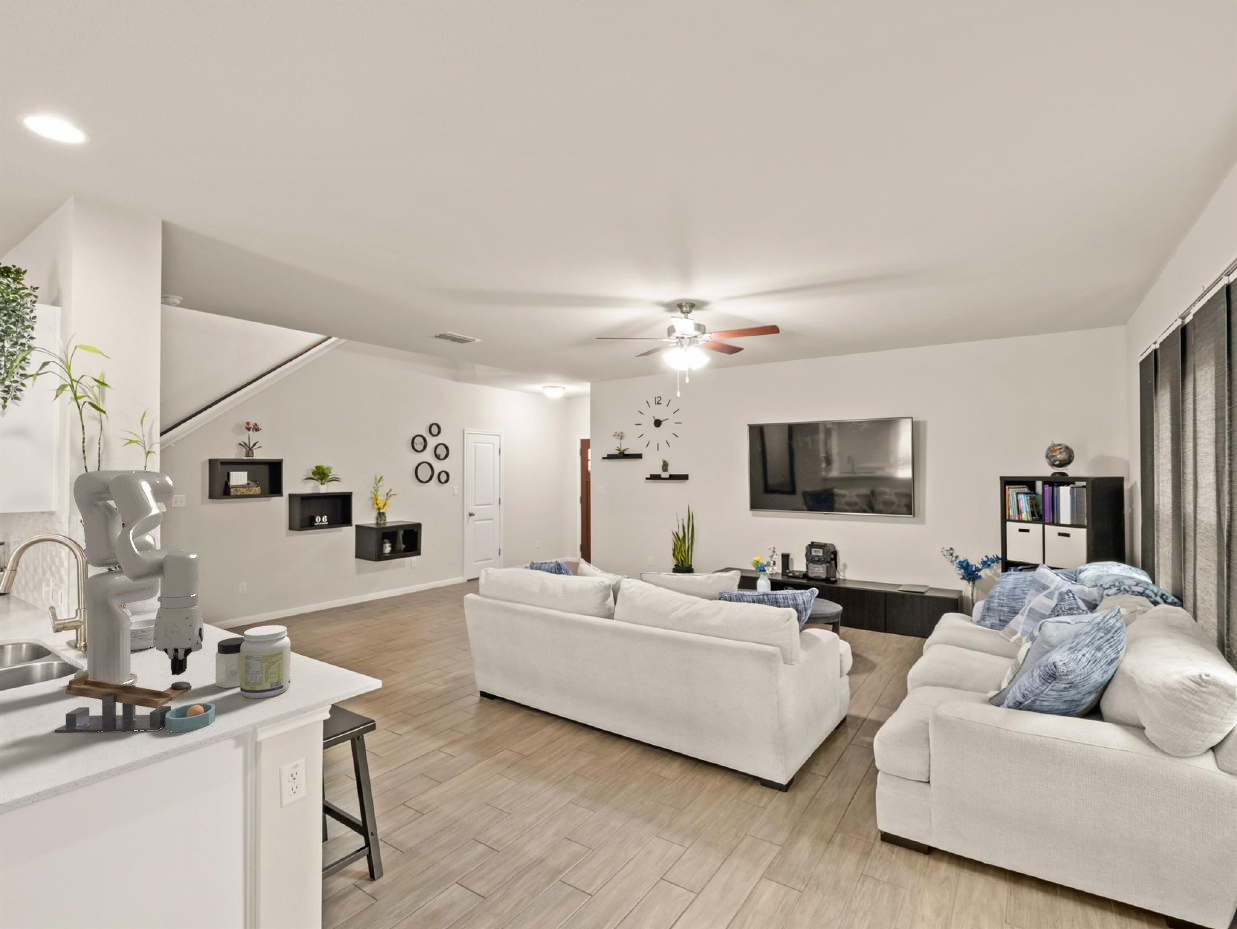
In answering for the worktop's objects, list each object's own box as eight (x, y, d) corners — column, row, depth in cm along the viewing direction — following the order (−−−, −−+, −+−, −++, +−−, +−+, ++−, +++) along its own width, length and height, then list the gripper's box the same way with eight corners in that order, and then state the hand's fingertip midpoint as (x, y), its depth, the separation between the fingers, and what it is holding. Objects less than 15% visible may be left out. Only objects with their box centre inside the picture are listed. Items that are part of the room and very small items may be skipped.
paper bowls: (119, 643, 220) (119, 620, 220) (172, 638, 227) (172, 616, 227) (105, 656, 206) (105, 631, 206) (162, 650, 213) (162, 626, 213)
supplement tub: (257, 683, 182) (257, 623, 182) (299, 684, 182) (299, 624, 182) (229, 699, 170) (229, 635, 170) (274, 700, 170) (275, 636, 170)
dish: (156, 732, 150) (156, 719, 150) (182, 715, 159) (182, 703, 159) (199, 731, 150) (199, 718, 150) (223, 714, 160) (223, 702, 160)
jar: (216, 690, 176) (216, 647, 176) (215, 681, 183) (215, 639, 183) (253, 684, 181) (253, 642, 181) (251, 676, 188) (251, 635, 188)
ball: (197, 707, 153) (199, 721, 153) (205, 701, 157) (207, 715, 157) (182, 709, 153) (184, 724, 153) (191, 703, 156) (193, 718, 156)
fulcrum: (54, 732, 149) (54, 698, 149) (82, 718, 157) (82, 685, 157) (157, 731, 150) (157, 696, 150) (180, 716, 159) (180, 683, 159)
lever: (65, 693, 151) (67, 680, 151) (106, 674, 164) (108, 662, 164) (158, 709, 152) (161, 695, 152) (192, 689, 165) (194, 677, 165)
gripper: (139, 604, 159) (137, 678, 159) (202, 606, 159) (200, 679, 160) (159, 597, 166) (157, 667, 167) (219, 598, 167) (217, 668, 167)
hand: (178, 673), depth 163 cm, fingers closed
